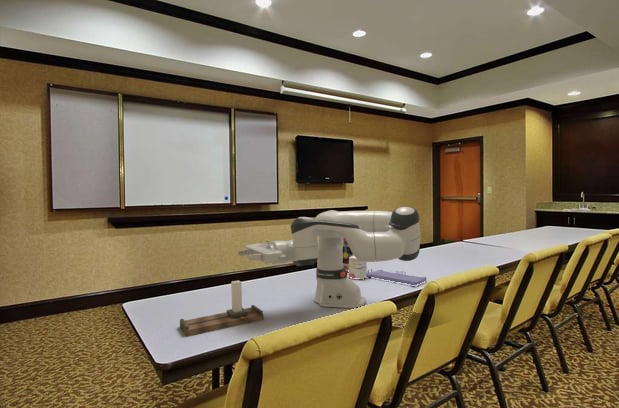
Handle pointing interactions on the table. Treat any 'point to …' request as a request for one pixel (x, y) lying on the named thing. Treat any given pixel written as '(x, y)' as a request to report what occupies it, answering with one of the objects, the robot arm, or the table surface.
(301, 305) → the table surface
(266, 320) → the table surface
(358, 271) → the ink cartridge box
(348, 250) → the toy clock
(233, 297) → the fader tab
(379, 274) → the computer part
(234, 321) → the fader track
